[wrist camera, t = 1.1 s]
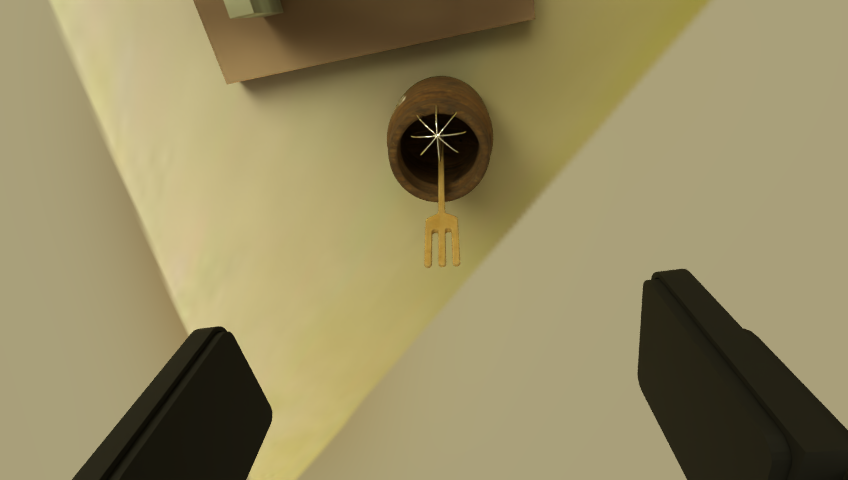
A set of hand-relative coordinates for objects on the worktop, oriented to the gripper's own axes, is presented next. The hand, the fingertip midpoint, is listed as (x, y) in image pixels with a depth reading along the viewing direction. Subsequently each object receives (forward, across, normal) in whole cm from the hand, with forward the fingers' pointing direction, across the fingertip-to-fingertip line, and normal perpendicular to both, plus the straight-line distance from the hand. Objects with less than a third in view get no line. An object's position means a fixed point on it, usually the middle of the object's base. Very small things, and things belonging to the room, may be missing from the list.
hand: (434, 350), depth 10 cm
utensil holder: (+20, 0, -1) cm, 20 cm away
